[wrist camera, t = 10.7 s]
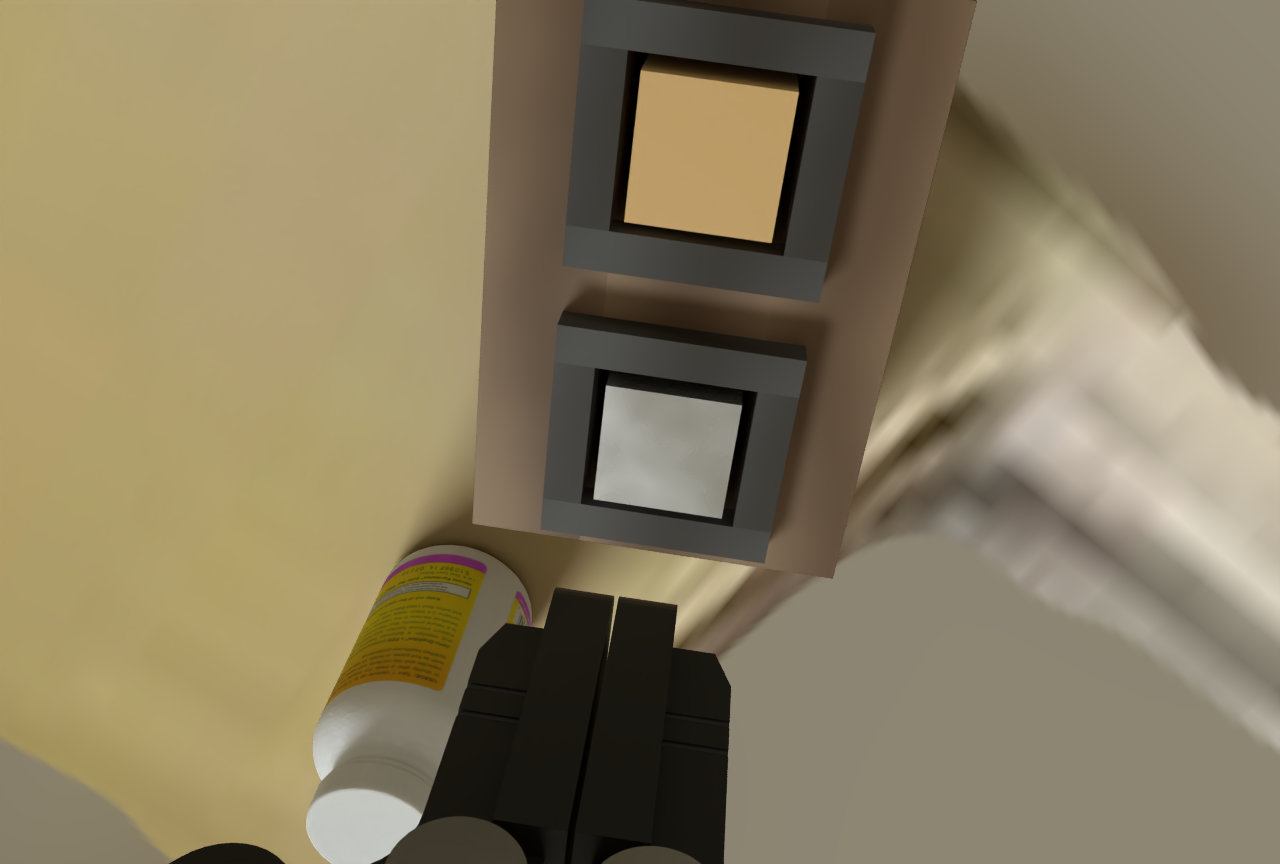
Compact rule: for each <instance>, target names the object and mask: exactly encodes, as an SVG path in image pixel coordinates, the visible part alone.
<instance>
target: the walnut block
mask: <svg viewBox="0 0 1280 864" xmlns="http://www.w3.org/2000/svg"><path fill="white" fill-rule="evenodd" d="M976 3H977V1H976V0H496V18H495V40H494V62H493V83H492V105H491V127H490V149H489V171H488V193H487V215H486V237H485V259H484V281H483V302H482V324H481V346H480V368H479V390H478V412H477V434H476V456H475V478H474V499H473V521H472V524H478V525H484V526H491V527H497V528H504V529H510V530H517V531H524V532H530V533H537V534H543V535H550V536H556V537H563V538H569V539H576V540H582V541H589V542H596V543H602V544H609V545H615V546H622V547H628V548H635V549H641V550H648V551H655V552H661V553H668V554H674V555H681V556H687V557H694V558H700V559H707V560H714V561H720V562H727V563H733V564H740V565H746V566H753V567H759V568H766V569H773V570H779V571H786V572H792V573H799V574H805V575H812V576H818V577H825V578H833V575H834V571H835V567H836V563H837V559H838V555H839V551H840V547H841V543H842V539H843V535H844V531H845V527H846V523H847V519H848V515H849V511H850V507H851V503H852V499H853V495H854V491H855V487H856V483H857V479H858V475H859V471H860V467H861V463H862V459H863V455H864V451H865V447H866V443H867V439H868V435H869V431H870V427H871V423H872V419H873V415H874V411H875V407H876V403H877V399H878V395H879V391H880V387H881V383H882V379H883V375H884V371H885V367H886V363H887V359H888V355H889V351H890V347H891V343H892V339H893V335H894V331H895V327H896V323H897V319H898V315H899V311H900V307H901V303H902V299H903V295H904V291H905V287H906V283H907V279H908V275H909V271H910V267H911V263H912V259H913V255H914V251H915V247H916V243H917V239H918V235H919V231H920V227H921V223H922V219H923V215H924V211H925V207H926V203H927V199H928V195H929V191H930V187H931V183H932V179H933V175H934V171H935V167H936V163H937V159H938V155H939V151H940V147H941V143H942V139H943V135H944V131H945V127H946V123H947V119H948V115H949V111H950V107H951V103H952V99H953V95H954V91H955V87H956V83H957V79H958V75H959V71H960V67H961V63H962V59H963V55H964V51H965V47H966V43H967V39H968V35H969V31H970V27H971V23H972V19H973V15H974V11H975V7H976ZM649 53H653V54H660V55H667V56H674V57H682V58H689V59H696V60H703V61H710V62H718V63H725V64H732V65H739V66H747V67H754V68H761V69H768V70H775V71H783V72H790V73H797V77H798V88H799V95H798V100H797V106H796V111H795V117H794V122H793V128H792V133H791V139H790V144H789V150H788V155H787V161H786V166H785V172H784V177H783V183H782V189H781V194H780V200H779V205H778V211H777V216H776V222H775V227H774V233H773V238H772V243H767V242H760V241H753V240H746V239H739V238H732V237H725V236H718V235H711V234H704V233H697V232H690V231H683V230H676V229H669V228H662V227H655V226H648V225H641V224H634V223H628V222H624V219H625V209H626V200H627V191H628V182H629V173H630V164H631V155H632V146H633V137H634V128H635V119H636V110H637V101H638V92H639V83H640V74H641V69H642V67H643V65H644V63H645V61H646V58H647V56H648V54H649ZM610 370H612V371H619V372H626V373H633V374H640V375H646V376H653V377H660V378H667V379H673V380H680V381H687V382H694V383H701V384H707V385H714V386H721V387H728V388H734V389H741V390H743V398H742V409H741V415H740V420H739V426H738V431H737V437H736V442H735V448H734V453H733V459H732V464H731V470H730V475H729V481H728V486H727V492H726V497H725V503H724V508H723V514H722V519H721V518H714V517H708V516H701V515H694V514H688V513H681V512H675V511H668V510H661V509H655V508H648V507H641V506H635V505H628V504H622V503H615V502H608V501H602V500H595V499H594V490H595V481H596V472H597V463H598V454H599V445H600V436H601V427H602V418H603V409H604V400H605V391H606V384H607V380H608V377H609V373H610Z"/></svg>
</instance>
